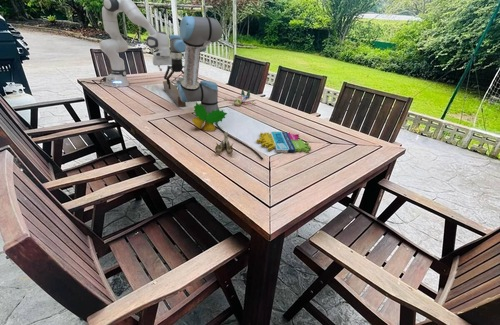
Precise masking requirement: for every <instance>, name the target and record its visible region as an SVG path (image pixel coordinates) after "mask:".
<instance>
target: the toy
mask: <svg viewBox="0 0 500 325" xmlns="http://www.w3.org/2000/svg"><path fill="white" fill-rule="evenodd" d="M240 92H241V93H240V95H238V96H237V97H235V99H233V98H230V99H228V98H227V97H226V96H225V97H224V98H223V101H224V102H233V103H232V104H233V105H235V106H242V103H243V104H247V105H252V106H255V105H256V104H257V103H256V102H254V101H253V100H252V101H251V102H250V101H248V100H246V99H248V98H250V97H251V90H250V89H249V90H248V91H247V92H246V93H245V91H244V89H242V90H241V91H240Z"/></svg>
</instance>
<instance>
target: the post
mask: <svg viewBox="0 0 500 325" xmlns="http://www.w3.org/2000/svg"><path fill="white" fill-rule="evenodd" d="M162 85H163V91H164V92H165V93H166V94H167V95H168V96H169V98H170V99H171V100H172V101H173V102H174V103H175V105H176V106H177V107H178V108H184V107H187V102H182V101H181V99H180V96H179V93H178V87H175V84H173V82H171V81H170V88H171V89H169V86H168V84H167V80H163V81H162Z"/></svg>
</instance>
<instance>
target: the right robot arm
mask: <svg viewBox="0 0 500 325" xmlns="http://www.w3.org/2000/svg"><path fill="white" fill-rule="evenodd" d="M223 33H224V32H223V27H222V25H221V23H220V22H219V21H218V20H217V19H216V18H213V17H205V16H193V15H190V16H187V15H186V16H183V17H182V18H181V20H180V24H179V34H170V35H169V46H170V47H169V50H170V53H171V58H172V59H171V62H172V65H166V71H165V73H164V76H163V79H164V80H165V81H167V84H168V86H169V89H171V88H170V82H171V80H170V79H171V78H172V77H173V75H174V74H175V73H182V75H184V79H183V80H182V81H181V84H179V85H178V86H177V89H178V93H179V96H180V99H181V101H182V102H186V103H196V102H197V103H198V102H200V104H201V106H204V109H206V112H208V113H211V112H212V110H214V111H216V110H217V109H219V111H221V110H220V108H219V102H218V99H219V98H218V97H219V88H218V84H217V83H216V82H215V81H211V80H205V79H204V80H198V79H199V69H200V61H201V60H200V59H201V53H205V52H206V51H207V49H208V48H207V47H208V46H209V45H211V44H212V43H216V42H218V41H220V39H221V38H222V37H223ZM182 53H184V65H183V55H182ZM171 68H172V70H171ZM199 81H200V82H199ZM208 113H207V115H208ZM215 125H216V126H217V128H218V129H219V131H221V132H222V133H223V134H224V133H225V132H226V131H224V130H223V129H222V128H221V127H220V126H219V124H218V123H215ZM228 137H229V138H231V139H233V140H234V141H236V142H238V143H240V144H241V145H243V146H245V147H247V148H248V149H250V151H252V152H254V154H256V155H257V156H258V157H259V158H260V159H261V160H264V157H262V155H261V154H260V153H259V152H258V151H256V150H255V149H254V148H252V147H251V146H249V145H248V144H246V143H244V142H243V141H241V140H239V139H238V138H235V137H233V136H232V135H230V134H229V133H228Z"/></svg>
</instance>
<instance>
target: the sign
mask: <svg viewBox="0 0 500 325" xmlns="http://www.w3.org/2000/svg"><path fill="white" fill-rule="evenodd" d="M299 136H300V135H299V134H298V133H296V134H294V133H291V132H287V131H270V132H264V133H263V132H260V133H259V139H258V138H257V139H256V143H257V144H261V148H263V147H264V148H265V149H267V151H268V152H271V151H272V150H273V149H275V152H276V153H283V154H285V153H287V154H288V153H290V154H293V153H296V152H298V153H301V152H305V153H310V151H311V150H312V149H311V148H312V146H309V142H304V141H303V139H302V138H299Z"/></svg>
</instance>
